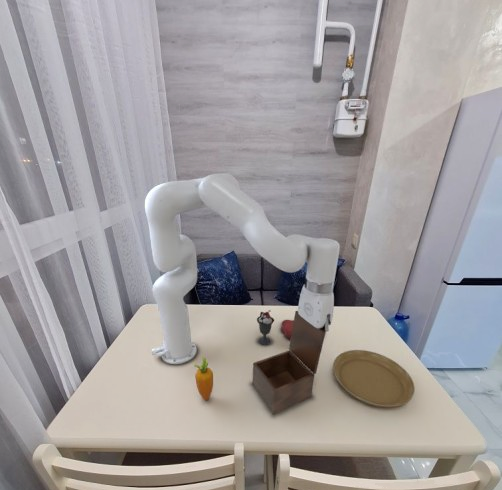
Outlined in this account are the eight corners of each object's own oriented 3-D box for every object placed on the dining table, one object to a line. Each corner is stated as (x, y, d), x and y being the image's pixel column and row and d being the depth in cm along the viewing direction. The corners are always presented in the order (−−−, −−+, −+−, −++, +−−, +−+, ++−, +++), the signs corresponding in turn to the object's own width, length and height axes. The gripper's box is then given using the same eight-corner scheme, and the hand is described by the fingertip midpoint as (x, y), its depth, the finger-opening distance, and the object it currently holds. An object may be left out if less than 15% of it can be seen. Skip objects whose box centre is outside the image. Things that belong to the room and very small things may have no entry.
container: (273, 414, 74) (274, 391, 70) (252, 384, 84) (252, 362, 80) (311, 397, 80) (314, 375, 76) (287, 370, 90) (289, 350, 86)
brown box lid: (323, 332, 70) (325, 332, 70) (295, 311, 80) (297, 310, 81) (313, 374, 76) (315, 373, 76) (288, 349, 86) (290, 348, 86)
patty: (285, 341, 105) (285, 337, 104) (277, 322, 117) (277, 318, 116) (327, 337, 107) (327, 333, 106) (314, 319, 119) (315, 315, 119)
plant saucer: (431, 407, 77) (434, 399, 75) (354, 418, 73) (357, 410, 72) (381, 354, 98) (383, 346, 97) (320, 360, 95) (321, 353, 93)
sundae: (272, 347, 101) (274, 314, 95) (254, 345, 102) (255, 311, 96) (274, 337, 107) (276, 305, 100) (257, 335, 108) (258, 303, 102)
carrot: (207, 409, 75) (203, 369, 69) (194, 402, 78) (189, 362, 71) (218, 398, 79) (215, 358, 73) (205, 391, 81) (202, 352, 75)
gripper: (291, 277, 76) (287, 330, 84) (327, 299, 64) (318, 358, 72) (312, 272, 79) (305, 324, 87) (350, 292, 67) (339, 350, 75)
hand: (311, 339), depth 79 cm, fingers closed
